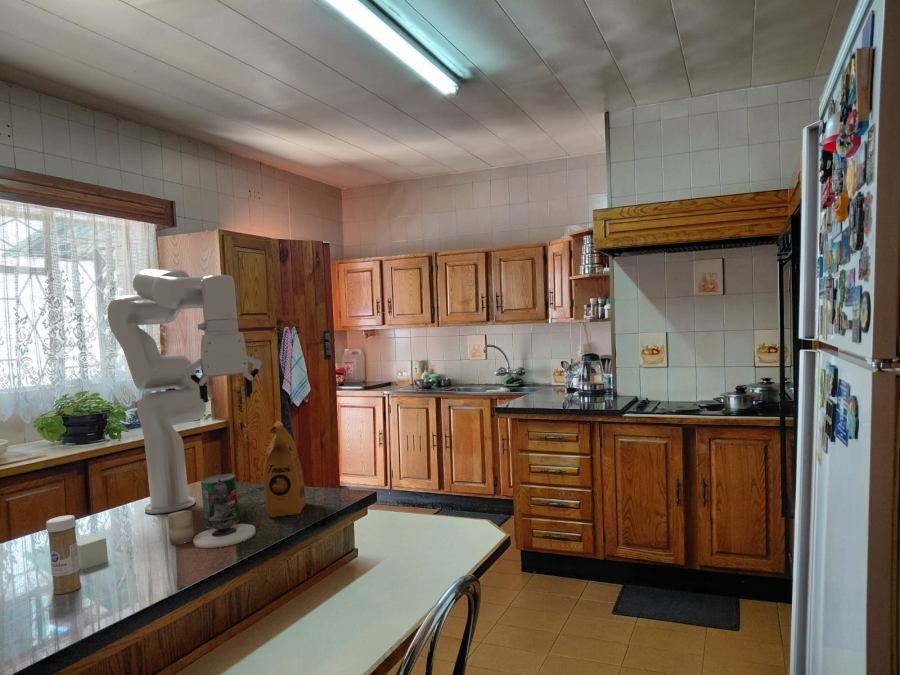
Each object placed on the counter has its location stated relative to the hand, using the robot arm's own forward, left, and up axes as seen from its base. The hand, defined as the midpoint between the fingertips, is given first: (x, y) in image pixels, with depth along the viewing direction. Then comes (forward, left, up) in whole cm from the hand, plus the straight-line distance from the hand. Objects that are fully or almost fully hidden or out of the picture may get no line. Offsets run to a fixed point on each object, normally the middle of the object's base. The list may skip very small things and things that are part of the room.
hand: (227, 399), depth 151 cm
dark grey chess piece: (+9, -5, -29) cm, 31 cm away
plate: (+9, -5, -30) cm, 32 cm away
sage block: (+4, -31, -30) cm, 43 cm away
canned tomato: (-4, -3, -30) cm, 30 cm away
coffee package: (-2, +12, -30) cm, 32 cm away
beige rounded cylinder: (+3, -13, -30) cm, 33 cm away
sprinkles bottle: (+18, -35, -30) cm, 50 cm away
